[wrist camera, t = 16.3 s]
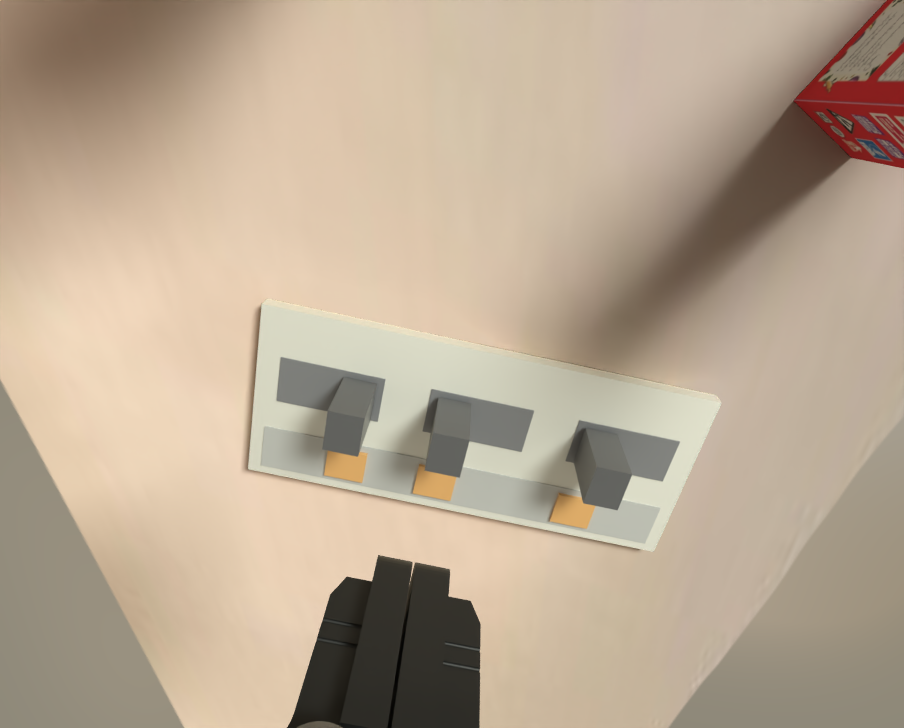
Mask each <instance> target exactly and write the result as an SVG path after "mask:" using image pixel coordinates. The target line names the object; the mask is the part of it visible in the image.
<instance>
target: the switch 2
mask: <svg viewBox="0 0 904 728" xmlns="http://www.w3.org/2000/svg"><path fill="white" fill-rule="evenodd" d="M574 466H575V470H576V474H577V479H578V483H579V487H580V492H581V496H582V500H583V503H584V504H589V505H594V506H599V507H604V508H608V509H613V510H618V508H619V506H620V504H621V501H622V499H623V496H624V494H625V491H626V489H627V486H628V484H629V481H630V479H631V477H632V472H631V469H630V467H629V464H628V461H627V459H626V456H625V453H624V451H623V448H622V445H621V443H620V440H619V437H618V435H617V434H613V433H608V432H603V431H599V430H594V429H589V428H585V431H584V433H583V436H582V439H581V442H580V445H579V448H578V450H577V453H576V456H575V459H574Z"/></svg>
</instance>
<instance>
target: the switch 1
mask: <svg viewBox="0 0 904 728" xmlns="http://www.w3.org/2000/svg"><path fill="white" fill-rule="evenodd" d="M376 388H377V384H376V383H372V382H367V381H362V380H358V379H353V378H348V377H344V378H343V380H342V382H341V384H340V386H339V389H338V391H337V393H336V395H335V397H334V399H333V401H332V403H331V405H330V407H329V409H328V412H327V419H326V426H325V433H324V440H323V447H322V450H327V451H332V452H337V453H342V454H347V455H351V456H356V457H358V455H359V452H360V449H361V447H362V444H363V441H364V438H365V435H366V432H367V429H368V426H369V423H370V420H371V416H372V410H373V405H374V399H375V394H376Z"/></svg>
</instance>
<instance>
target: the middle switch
mask: <svg viewBox="0 0 904 728" xmlns="http://www.w3.org/2000/svg"><path fill="white" fill-rule="evenodd" d="M470 422H471V403H466V402H462V401H457V400H452V399H447V398H443V397H439V398H438V402H437V407H436V411H435V415H434V420H433V424H432V428H431V433H430V440H429V446H428V452H427V458H426V464H425V471H429V472H434V473H439V474H443V475H448V476H453V477H458V478H460V475H461V471H462V468H463V464H464V460H465V456H466V452H467V448H468V445H469V441H470Z"/></svg>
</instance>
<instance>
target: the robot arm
mask: <svg viewBox="0 0 904 728" xmlns="http://www.w3.org/2000/svg"><path fill="white" fill-rule="evenodd" d="M411 570H412V562H410V561H405V560H400V559H395V558H390V557H385V556H380V555H378V559H377V563H376V567H375V572H374V576H373V580H372V582H371V581H366V580H361V579H356V578H351V577H346V578H345V579H344V580H343V581H342V583H341V584H340V585H339V586H338V587H337V588H336V589H335V590H334V591H333V592H332V593H331V594H330V598H329V601H328V604H327V607H326V611H325V614H324V617H323V621H322V624H321V627H320V630H319V634H318V637H317V641H316V643H315V647H314V650H313V653H312V656H311V660H310V663H309V666H308V670H307V673H306V676H305V679H304V683H303V686H302V689H301V692H300V696H299V699H298V702H297V705H296V709H295V712H294V715H293V717H292V720H291V722H290V724H289V725H288V727H287V728H479V710H480V673H479V670H480V622H479V619H478V617H477V615H476V612H475V610H474V608H473V605H472V603H471V601H468V600H463V599H458V598H453V597H448V594H449V580H450V569H446V568H441V567H436V566H431V565H426V564H421V563H415V565H414V569H413V573H412V577H411ZM410 577H411V581H410ZM409 583H410V585H409Z"/></svg>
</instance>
